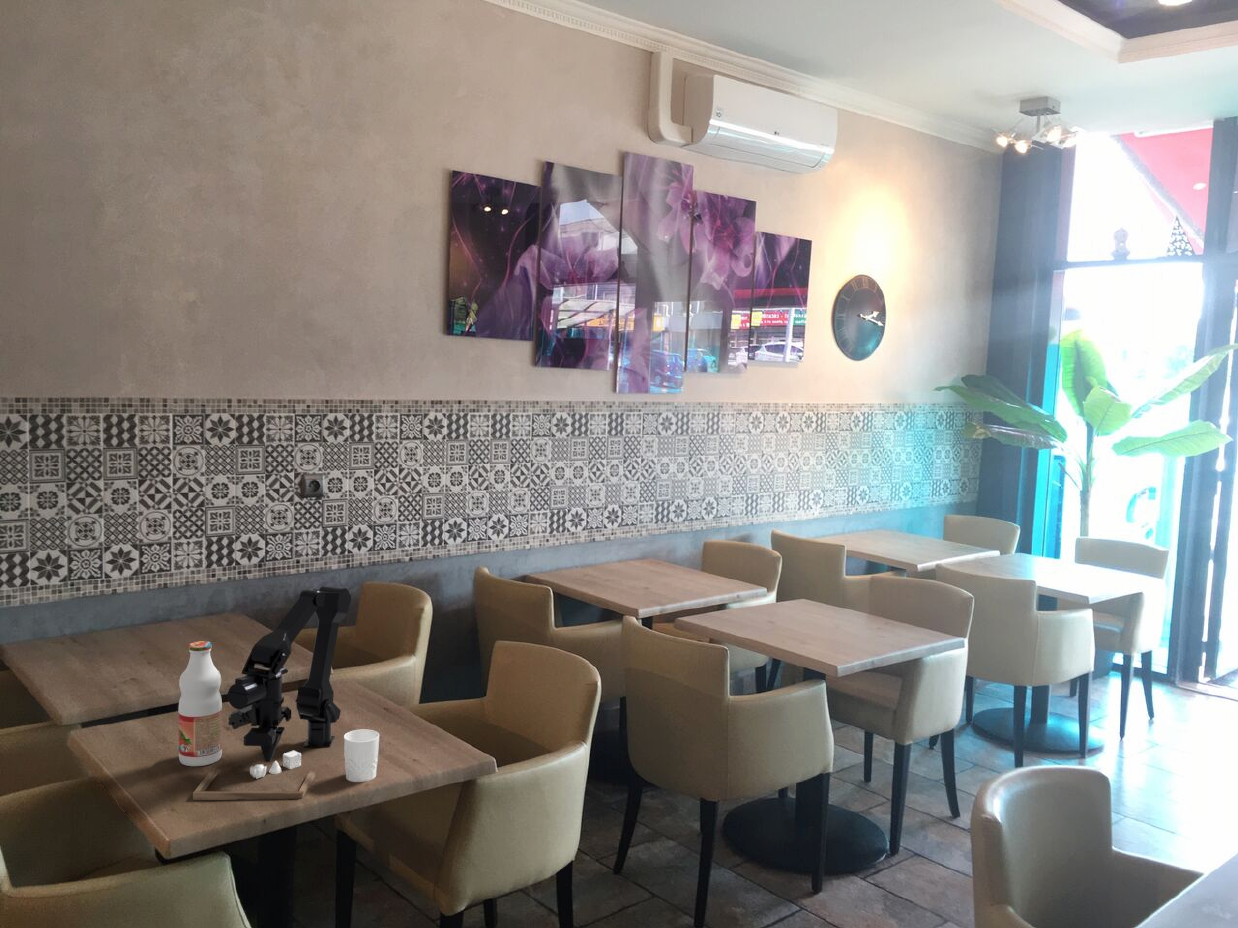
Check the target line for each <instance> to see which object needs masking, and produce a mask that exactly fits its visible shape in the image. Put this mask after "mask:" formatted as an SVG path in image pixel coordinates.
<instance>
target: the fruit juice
mask: <svg viewBox="0 0 1238 928" xmlns="http://www.w3.org/2000/svg"><path fill="white" fill-rule="evenodd" d="M188 651H189V652H190V654H189V655H190V656H189V660H188V663H187V666H186V668H185V669H184V671H183V672H182V673H181V674H180V676H179V683H178V685H179V690H180V693H181V695H180V697H179V701H178V759H179V762H180V763H181V764H182V765H184V766H188V767H203V766H208V765H212V764H215V763H216V762H218V761H219V760H220V759H221V757H222V753H223V744H222V743H223V718H222V717H223V702H222V695H221V693H220V687H221V684H222V676H221V673H220V670H218V669H217V668H216V666H215V664H214V663H213V660H212V657H211V651H212V643H211V642H210V641H205V640H200V641H194V642H191V643H189V645H188Z"/></svg>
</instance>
